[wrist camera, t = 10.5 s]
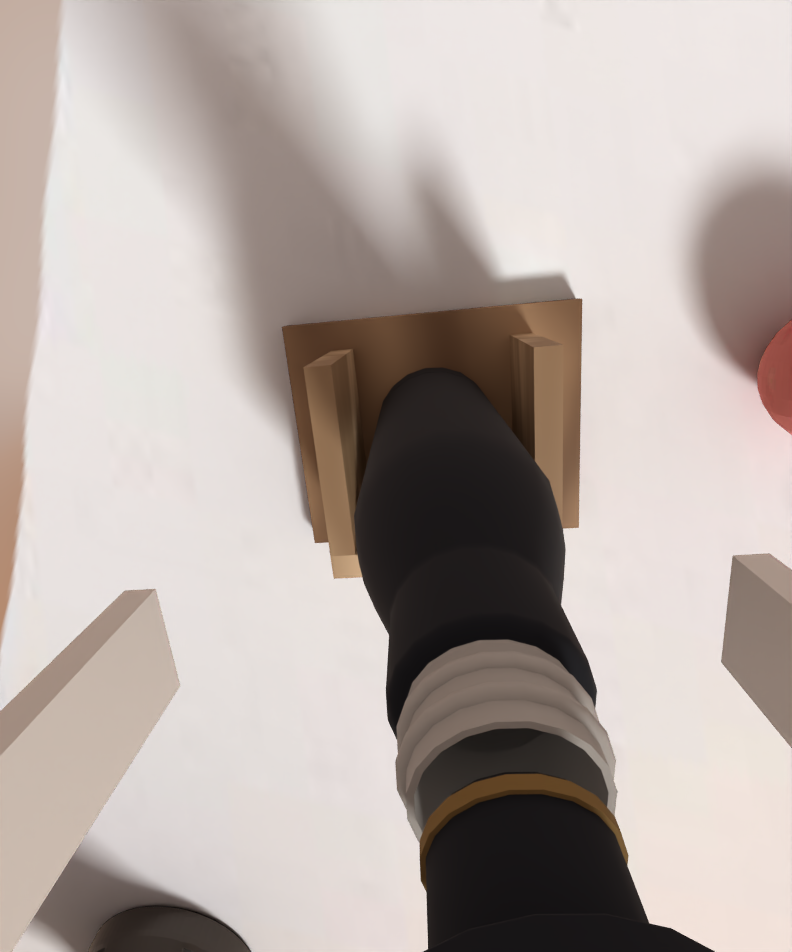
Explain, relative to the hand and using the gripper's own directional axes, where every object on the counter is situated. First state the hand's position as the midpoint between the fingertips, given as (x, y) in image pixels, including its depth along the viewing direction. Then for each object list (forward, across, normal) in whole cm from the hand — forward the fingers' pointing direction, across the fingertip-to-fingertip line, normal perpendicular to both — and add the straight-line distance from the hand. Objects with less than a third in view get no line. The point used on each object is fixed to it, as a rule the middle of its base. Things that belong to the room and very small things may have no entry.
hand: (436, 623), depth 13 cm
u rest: (+20, 0, 0) cm, 21 cm away
